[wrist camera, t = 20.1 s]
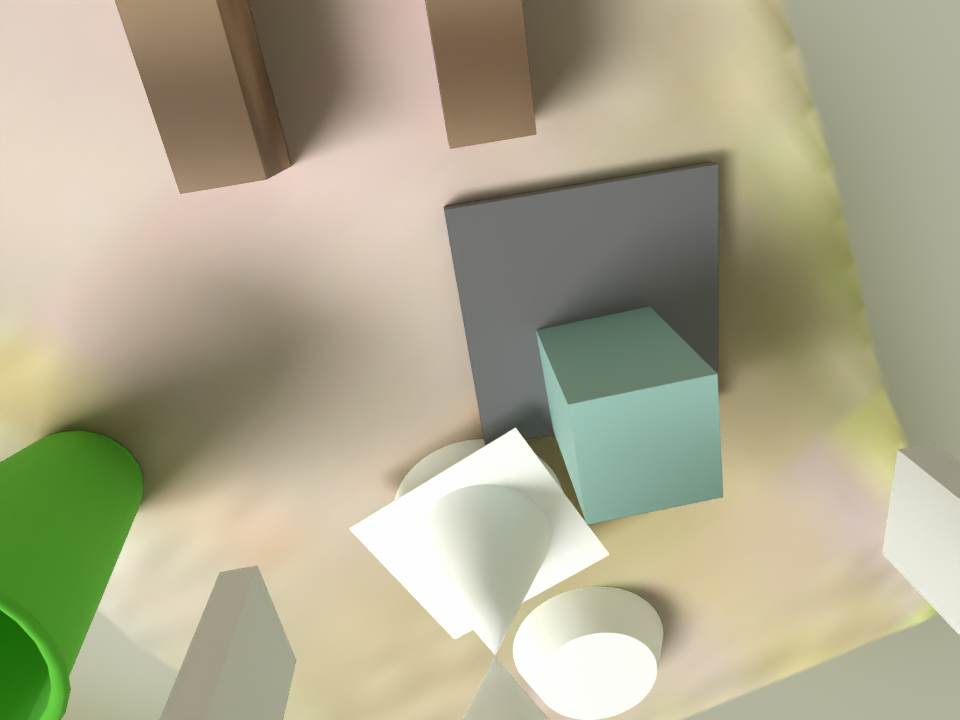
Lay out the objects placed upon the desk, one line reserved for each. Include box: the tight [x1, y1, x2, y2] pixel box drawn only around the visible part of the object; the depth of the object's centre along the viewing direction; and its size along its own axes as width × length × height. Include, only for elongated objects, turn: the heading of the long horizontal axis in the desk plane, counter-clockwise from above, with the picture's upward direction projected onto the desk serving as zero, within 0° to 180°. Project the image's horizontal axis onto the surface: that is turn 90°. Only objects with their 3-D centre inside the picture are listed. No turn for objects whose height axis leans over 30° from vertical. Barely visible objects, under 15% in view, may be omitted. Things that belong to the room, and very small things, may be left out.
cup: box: [0, 431, 144, 720], centre depth 24 cm, size 9×9×11 cm
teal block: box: [536, 307, 723, 525], centre depth 25 cm, size 5×5×7 cm
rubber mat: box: [444, 162, 718, 446], centre depth 27 cm, size 11×11×1 cm
